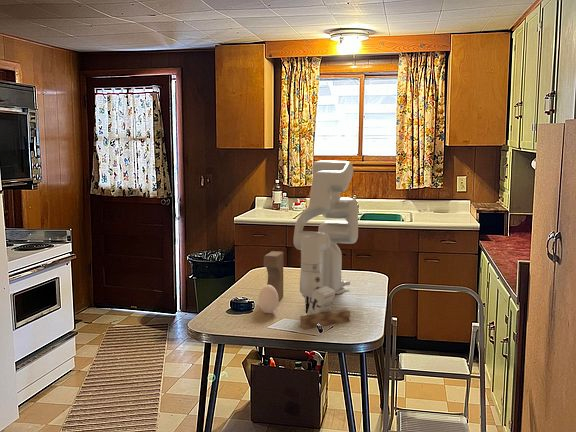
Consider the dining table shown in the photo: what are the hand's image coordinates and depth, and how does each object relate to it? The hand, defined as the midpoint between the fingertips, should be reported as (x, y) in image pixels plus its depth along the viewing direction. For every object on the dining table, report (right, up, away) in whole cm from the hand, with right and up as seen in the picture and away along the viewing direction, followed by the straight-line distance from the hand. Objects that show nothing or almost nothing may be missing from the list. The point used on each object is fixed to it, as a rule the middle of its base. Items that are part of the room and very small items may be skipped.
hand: (310, 313), depth 233 cm
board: (+5, -2, -9) cm, 11 cm away
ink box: (+2, -1, -3) cm, 4 cm away
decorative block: (-15, +2, +24) cm, 28 cm away
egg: (-16, -1, +5) cm, 17 cm away
